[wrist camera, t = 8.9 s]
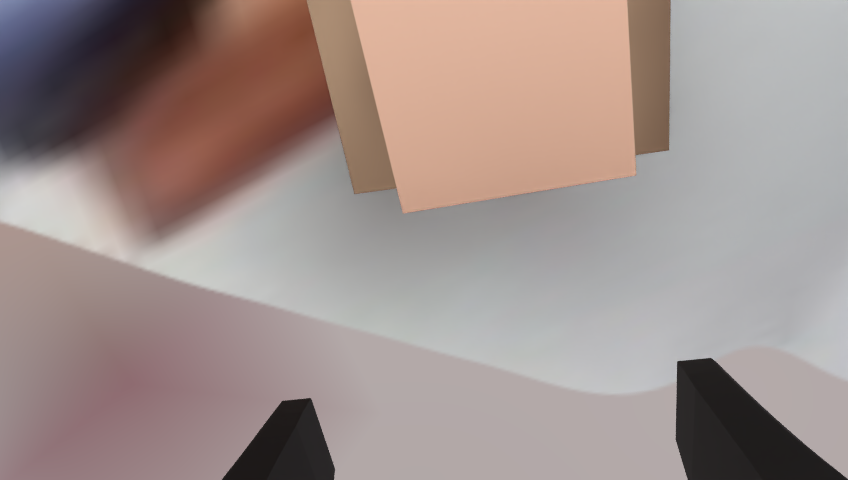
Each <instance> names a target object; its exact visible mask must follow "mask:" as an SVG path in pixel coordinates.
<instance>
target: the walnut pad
mask: <svg viewBox="0 0 848 480" xmlns="http://www.w3.org/2000/svg"><path fill="white" fill-rule="evenodd" d="M307 3H308V8H309V12H310V16H311V20H312V24H313V28H314V32H315V36H316V40H317V44H318V48H319V52H320V56H321V60H322V64H323V68H324V72H325V76H326V81H327V85H328V89H329V93H330V97H331V101H332V105H333V109H334V113H335V117H336V121H337V125H338V129H339V133H340V137H341V141H342V145H343V149H344V154H345V158H346V162H347V166H348V170H349V174H350V178H351V182H352V186H353V190H354V194H359V193H366V192H373V191H380V190H388V189H395V188H397V187H396V183H395V179H394V175H393V171H392V167H391V163H390V159H389V155H388V151H387V146H386V142H385V138H384V134H383V130H382V126H381V122H380V118H379V114H378V110H377V106H376V102H375V98H374V94H373V90H372V86H371V82H370V77H369V73H368V69H367V65H366V61H365V57H364V53H363V49H362V45H361V41H360V37H359V33H358V29H357V25H356V21H355V17H354V13H353V8H352V4H351V0H307ZM627 6H628V26H629V45H630V64H631V83H632V103H633V122H634V141H635V155H639V154H646V153H653V152H660V151H667V150H669V99H670V0H627Z"/></svg>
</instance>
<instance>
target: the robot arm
mask: <svg viewBox="0 0 848 480" xmlns="http://www.w3.org/2000/svg"><path fill="white" fill-rule="evenodd" d="M676 406H677V408H676V442H677V445H678V448H679V452H680V455H681V458H682V462H683V465H684V468H685V472H686V475H687V478H688V480H848V479H847V478H846V477H844V476H843V475H842V474H841V473H840V472H838V471H837V470H836V469H834V468H833V467H832V466H830V465H829V464H828V463H827V462H826V461H824V460H823V459H822V458H821V457H819V456H818V455H817V454H816V453H815V452H813V451H812V450H811V449H810V448H808V447H807V446H806V445H805V444H804V443H803V442H802V441H800V440H799V439H798V438H797V437H796V436H795V435H793V434H792V433H791V432H790V431H789V430H788V429H787V428H785V427H784V426H783V425H782V424H781V423H780V422H779V421H777V420H776V419H775V418H774V417H773V416H772V415H771V414H770V413H769V412H768V411H766V410H765V409H764V408H763V407H762V406H761V405H760V404H759V403H758V402H757V401H756V400H755V399H754V398H753V397H751V396H750V395H749V394H748V393H747V392H746V391H745V390H744V389H743V388H742V387H741V386H740V385H739V384H738V383H737V382H736V381H735V380H734V379H733V378H732V377H731V376H730V375H729V374H728V373H727V372H725V370H723V368H722V367H721V366H720V365H719V364H718V363H717V362H715V361H714V360H713V359H712V358H706V359H696V360H686V361H677V405H676ZM334 473H335V468H334V465H333V462H332V459H331V456H330V453H329V450H328V447H327V444H326V441H325V438H324V435H323V432H322V429H321V426H320V423H319V420H318V417H317V415H316V412H315V409H314V406H313V403H312V400H311V398H308V399H298V400H288V401H282V402H281V403H280V405H279V406H278V407H277V409H276V410H275V411H274V412H273V414H272V415H271V416H270V418H269V419H268V420H267V422H266V423H265V424H264V426H263V427H262V428H261V429H260V431H259V432H258V433H257V435H256V436H255V438H254V439H253V440H252V441H251V443H250V444H249V446H248V447H247V448H246V449H245V451H244V452H243V453H242V455H241V456H240V457H239V459H238V460H237V461H236V462H235V464H234V465H233V466H232V468H231V469H230V470H229V471H228V472H227V474H226V475H225V476H224V478H223V479H222V480H334Z"/></svg>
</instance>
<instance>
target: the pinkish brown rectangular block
mask: <svg viewBox="0 0 848 480" xmlns="http://www.w3.org/2000/svg"><path fill="white" fill-rule="evenodd" d="M351 4H352V8H353V13H354V17H355V21H356V25H357V29H358V33H359V37H360V41H361V45H362V49H363V53H364V57H365V61H366V65H367V69H368V73H369V77H370V82H371V86H372V90H373V94H374V98H375V102H376V106H377V110H378V114H379V118H380V122H381V126H382V130H383V134H384V138H385V142H386V146H387V151H388V155H389V159H390V163H391V167H392V171H393V175H394V179H395V183H396V187H397V191H398V195H399V199H400V203H401V207H402V211H403V213H409V212H416V211H422V210H428V209H434V208H440V207H446V206H452V205H458V204H464V203H470V202H477V201H483V200H489V199H495V198H501V197H507V196H513V195H519V194H525V193H532V192H538V191H544V190H550V189H556V188H562V187H568V186H574V185H580V184H587V183H593V182H599V181H605V180H611V179H617V178H623V177H629V176H635V175H636V160H635V141H634V122H633V103H632V83H631V64H630V45H629V26H628V6H627V0H351Z"/></svg>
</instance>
